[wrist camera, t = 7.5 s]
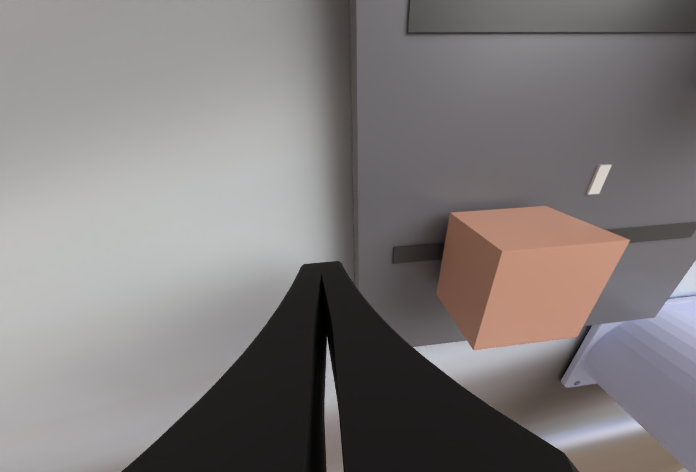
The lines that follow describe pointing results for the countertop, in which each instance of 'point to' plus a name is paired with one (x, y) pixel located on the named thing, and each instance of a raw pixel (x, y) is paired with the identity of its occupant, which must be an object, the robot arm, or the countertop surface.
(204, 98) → the countertop surface
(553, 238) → the block
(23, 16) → the countertop surface
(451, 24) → the fader panel
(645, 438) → the countertop surface
